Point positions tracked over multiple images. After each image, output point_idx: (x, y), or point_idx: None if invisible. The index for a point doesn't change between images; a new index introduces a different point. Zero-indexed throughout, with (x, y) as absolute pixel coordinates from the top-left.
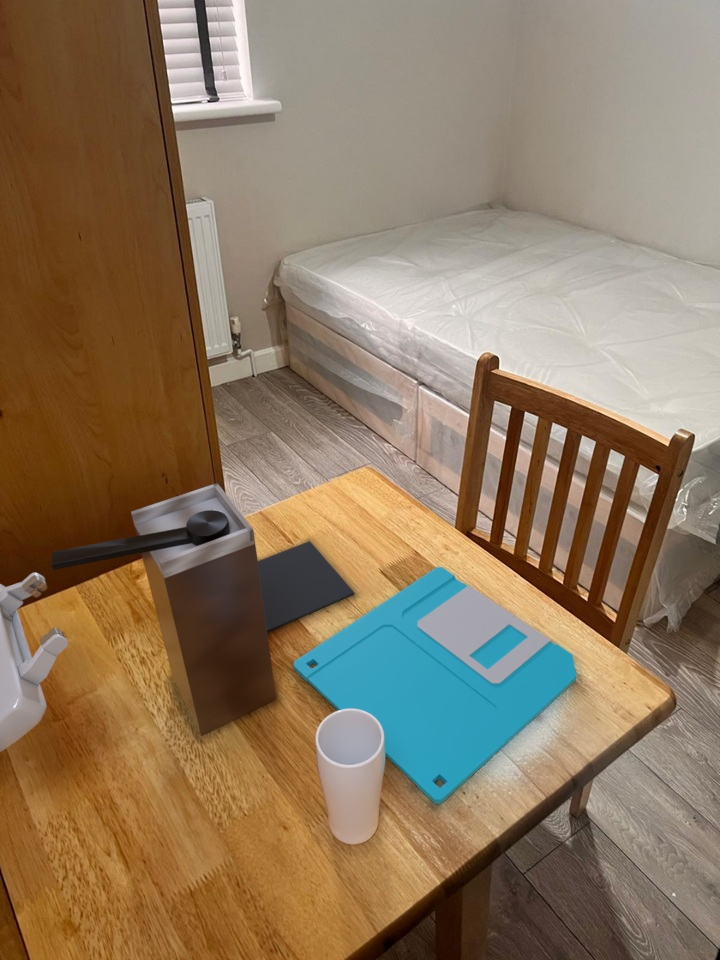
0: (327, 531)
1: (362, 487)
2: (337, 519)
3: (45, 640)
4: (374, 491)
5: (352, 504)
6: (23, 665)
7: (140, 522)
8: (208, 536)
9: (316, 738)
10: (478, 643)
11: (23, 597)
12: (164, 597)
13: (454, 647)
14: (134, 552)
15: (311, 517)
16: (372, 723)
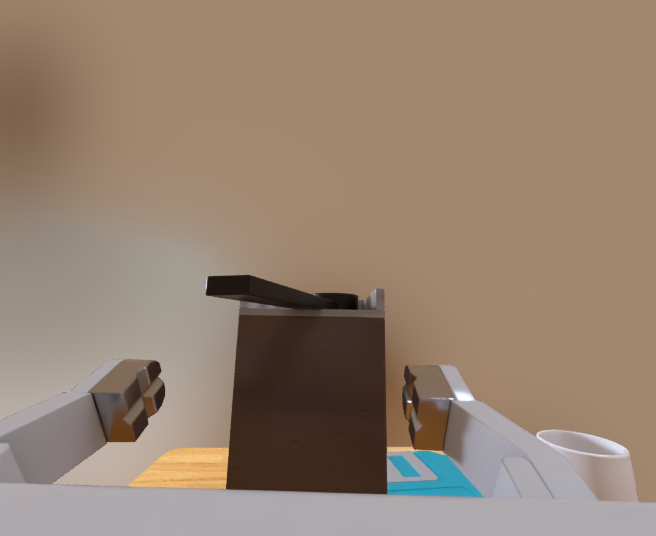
0: (189, 485)
1: (178, 454)
2: (186, 476)
3: (441, 387)
4: (192, 452)
5: (185, 464)
6: (531, 482)
7: (250, 306)
8: (357, 296)
9: (587, 453)
10: (395, 470)
11: (42, 480)
12: (350, 386)
13: (391, 479)
14: (315, 304)
15: (158, 486)
16: (551, 439)
